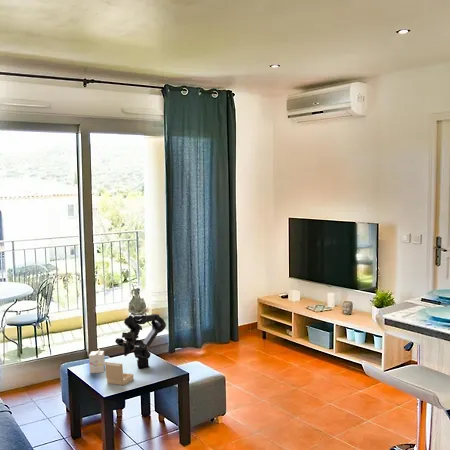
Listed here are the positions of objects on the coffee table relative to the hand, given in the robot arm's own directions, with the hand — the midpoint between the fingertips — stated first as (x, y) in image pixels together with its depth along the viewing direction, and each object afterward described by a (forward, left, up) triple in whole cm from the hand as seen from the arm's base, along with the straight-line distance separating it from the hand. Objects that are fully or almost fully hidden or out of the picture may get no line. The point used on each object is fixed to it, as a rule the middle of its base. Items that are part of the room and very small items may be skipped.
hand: (124, 355), depth 306 cm
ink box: (+15, -21, -14) cm, 29 cm away
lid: (+8, +8, -6) cm, 13 cm away
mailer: (+4, +4, -14) cm, 15 cm away
